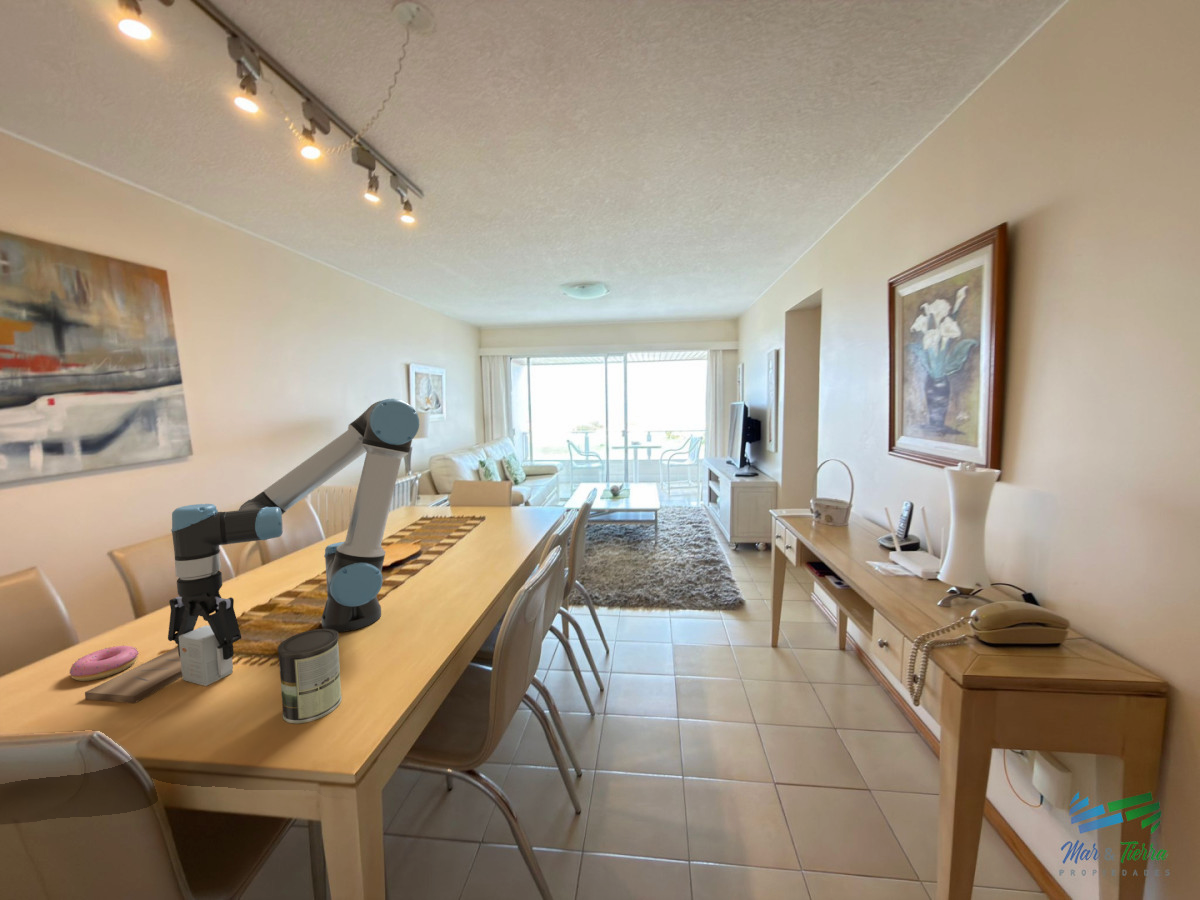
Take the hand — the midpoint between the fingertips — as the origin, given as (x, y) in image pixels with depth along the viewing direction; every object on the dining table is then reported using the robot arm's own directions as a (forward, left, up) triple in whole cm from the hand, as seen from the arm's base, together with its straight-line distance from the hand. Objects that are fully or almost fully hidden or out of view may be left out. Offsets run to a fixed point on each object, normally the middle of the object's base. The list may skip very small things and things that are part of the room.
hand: (207, 670), depth 102 cm
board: (+12, 0, -2) cm, 12 cm away
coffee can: (-32, +7, -2) cm, 33 cm away
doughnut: (+27, 0, -2) cm, 27 cm away
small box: (0, 0, -2) cm, 2 cm away
